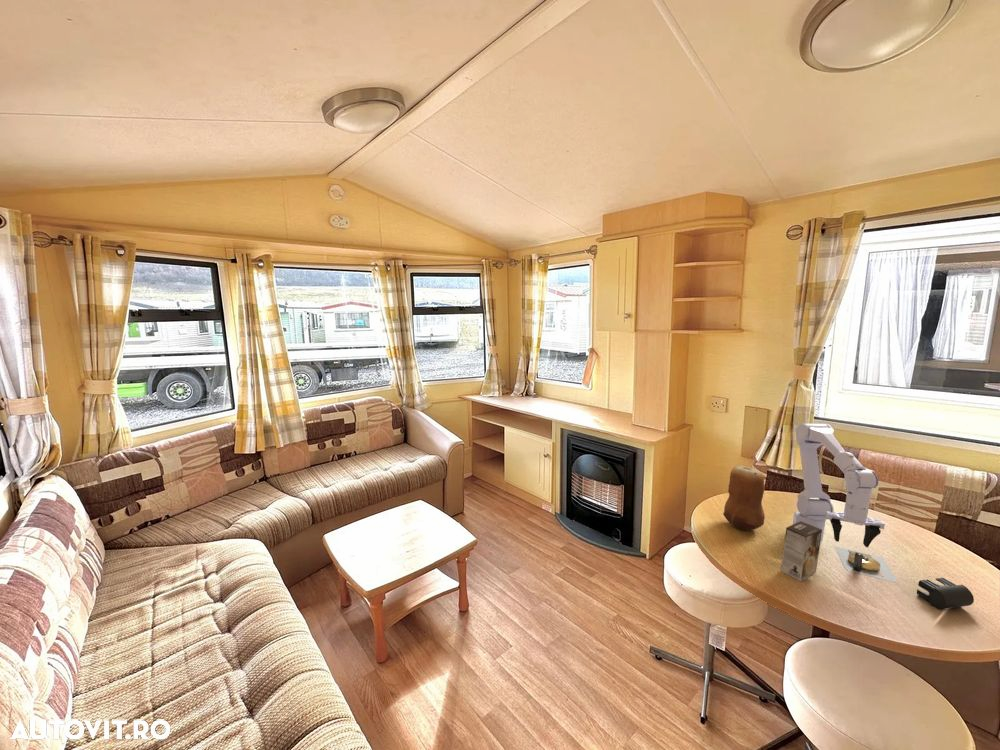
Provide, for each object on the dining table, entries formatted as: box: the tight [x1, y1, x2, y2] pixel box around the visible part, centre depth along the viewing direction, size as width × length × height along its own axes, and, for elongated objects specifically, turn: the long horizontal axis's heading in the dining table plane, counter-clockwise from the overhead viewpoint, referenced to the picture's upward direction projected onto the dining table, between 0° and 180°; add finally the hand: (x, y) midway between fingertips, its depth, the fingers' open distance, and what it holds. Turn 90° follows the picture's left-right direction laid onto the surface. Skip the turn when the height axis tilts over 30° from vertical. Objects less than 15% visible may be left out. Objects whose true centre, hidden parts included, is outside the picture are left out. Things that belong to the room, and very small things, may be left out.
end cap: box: [916, 577, 975, 610], centre depth 117 cm, size 10×7×7 cm
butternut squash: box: [722, 465, 766, 531], centre depth 157 cm, size 14×13×25 cm
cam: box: [848, 551, 880, 572], centre depth 134 cm, size 10×8×6 cm
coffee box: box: [780, 521, 822, 582], centre depth 131 cm, size 9×6×16 cm
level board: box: [835, 546, 899, 584], centre depth 135 cm, size 13×15×1 cm
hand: (850, 542), depth 133 cm, fingers open, 7 cm apart
